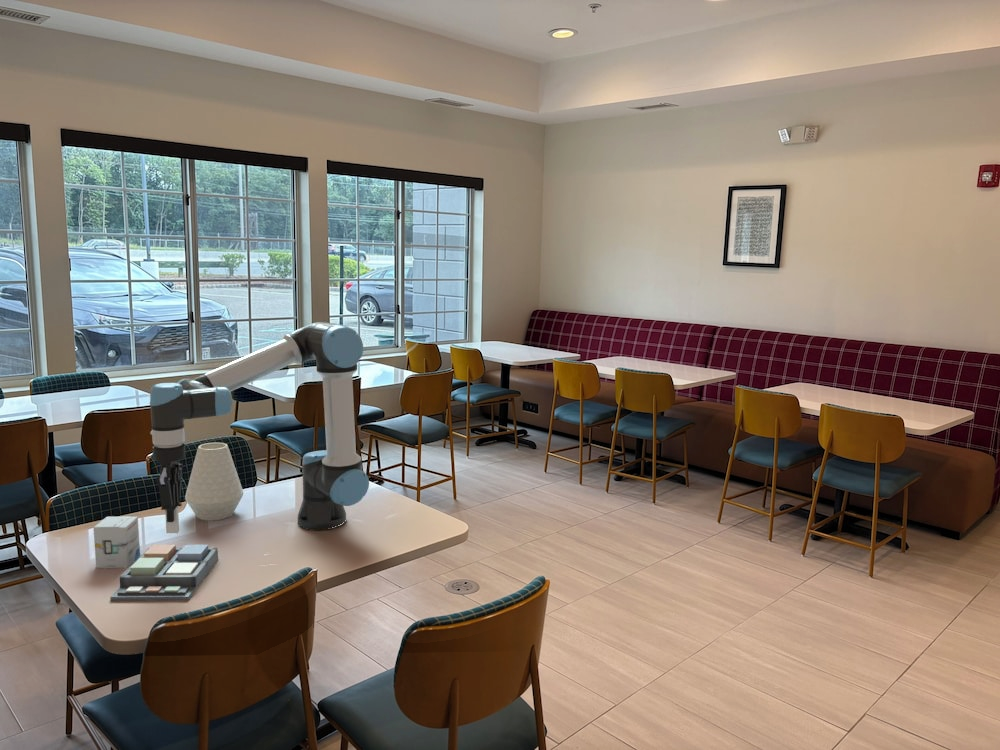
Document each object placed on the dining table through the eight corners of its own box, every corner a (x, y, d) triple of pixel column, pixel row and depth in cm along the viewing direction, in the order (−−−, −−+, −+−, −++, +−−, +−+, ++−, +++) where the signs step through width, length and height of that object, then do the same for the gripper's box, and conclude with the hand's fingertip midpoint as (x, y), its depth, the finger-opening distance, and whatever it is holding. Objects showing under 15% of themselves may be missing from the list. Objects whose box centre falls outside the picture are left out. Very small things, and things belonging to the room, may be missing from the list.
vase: (209, 503, 245) (207, 436, 242) (254, 509, 241) (253, 442, 237) (173, 520, 229) (170, 449, 225) (221, 527, 224) (219, 455, 221)
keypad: (218, 559, 201) (217, 547, 201) (188, 600, 178) (188, 586, 177) (149, 559, 200) (148, 547, 199) (110, 601, 176) (109, 587, 176)
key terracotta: (176, 553, 198) (175, 544, 198) (167, 562, 192) (167, 553, 192) (153, 553, 198) (152, 544, 197) (144, 562, 192) (143, 553, 191)
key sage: (164, 566, 190) (163, 557, 189) (155, 576, 184) (154, 567, 183) (140, 566, 189) (139, 557, 189) (130, 576, 183) (130, 567, 183)
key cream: (198, 571, 191) (197, 562, 190) (190, 581, 185) (190, 572, 184) (174, 571, 190) (174, 562, 190) (166, 582, 184) (165, 572, 184)
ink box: (109, 555, 202) (106, 515, 200) (141, 555, 203) (138, 515, 201) (95, 568, 194) (92, 526, 192) (128, 568, 194) (125, 527, 192)
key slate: (208, 553, 199) (208, 544, 198) (201, 562, 193) (201, 553, 192) (185, 553, 198) (185, 544, 198) (178, 562, 192) (177, 553, 192)
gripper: (162, 437, 190) (166, 523, 194) (143, 451, 178) (148, 542, 182) (191, 437, 191) (195, 522, 195) (175, 451, 179) (179, 541, 182)
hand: (172, 532), depth 188 cm, fingers closed
